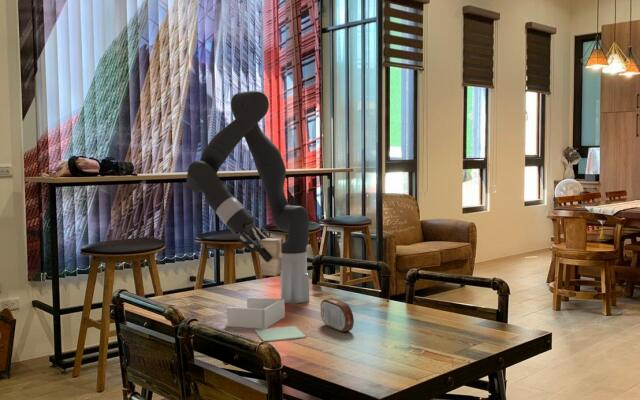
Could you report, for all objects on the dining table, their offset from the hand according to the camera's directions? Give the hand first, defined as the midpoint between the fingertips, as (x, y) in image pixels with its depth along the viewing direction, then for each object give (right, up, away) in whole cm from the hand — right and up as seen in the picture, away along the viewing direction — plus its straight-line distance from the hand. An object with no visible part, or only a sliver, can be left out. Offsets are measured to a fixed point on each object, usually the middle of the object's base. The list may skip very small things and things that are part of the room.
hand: (273, 258), depth 192 cm
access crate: (-7, -21, +14) cm, 26 cm away
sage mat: (+2, -21, -2) cm, 22 cm away
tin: (+18, -21, +3) cm, 28 cm away
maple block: (-1, -4, +1) cm, 5 cm away
